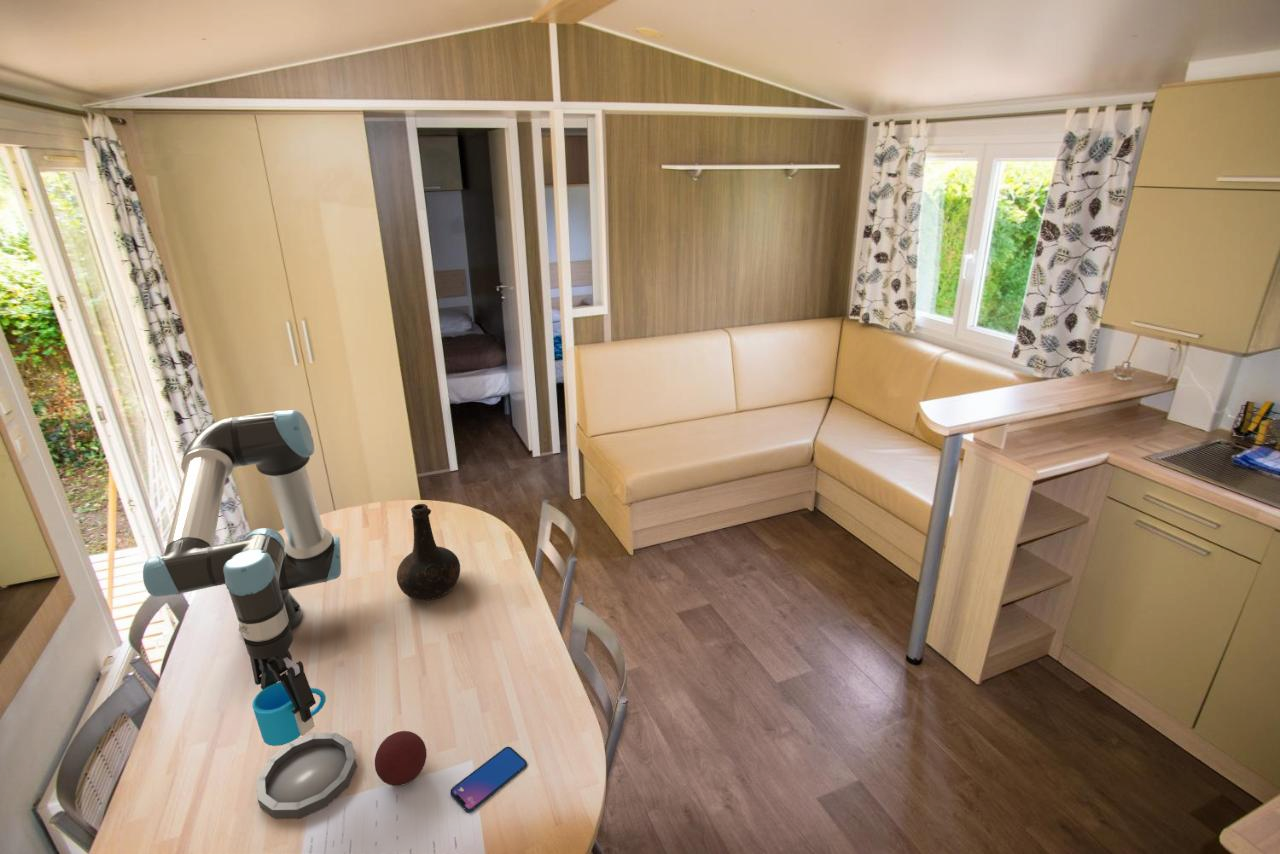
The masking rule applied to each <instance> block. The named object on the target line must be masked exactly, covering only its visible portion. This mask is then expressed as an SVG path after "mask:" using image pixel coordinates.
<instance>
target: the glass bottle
mask: <svg viewBox="0 0 1280 854" xmlns="http://www.w3.org/2000/svg"><path fill="white" fill-rule="evenodd" d="M410 512H411V518H412V524H413V525H412V526H413V547H412V552H410V553H409V554H407V555H406V556H405V557H404V558H403V559H402V561H401V562H400V563H399V564H398V568H397V571H396V582H397V584H398V587H399V588H400V590H401V592H403V594H405V595H406V596H407V597H408V598H411V599H414V600H416V601H433V600H436V599H438V598H440V597H442V596H444V595H446V594H447V593H448V592H450V591H451V590H452V589H453V588H454V586H455V585H456V584H457V581H458V579H459V577H460V574H461V564H460V560H459V558H458V556H457V555H456V554H455V553H454V552H453V551H452V550H450V549H448V548H446V547H444V546H438V545H437V543H436V541H435V538H434V533H433V531H432V527H431V521H430V520H431V519H430V515H431V512H432V509H430V508H429V507H428V505H427V504H425V503H418V504H415V505H414V506H413V507H412V508H411V509H410Z"/></svg>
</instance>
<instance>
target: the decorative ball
mask: <svg viewBox="0 0 1280 854" xmlns="http://www.w3.org/2000/svg"><path fill="white" fill-rule="evenodd" d="M374 757H375V758H374V768H375V772H376V774H377V776H378V778H379V779H380V781H382V782H383V783H386V784H387V785H390V786H393V787H398V786H399V787H400V786H404V785H407V784H409V783H411V782H412V781H414V780H415V779H416V778H417V777H418V776H419V775H420V774H421V772H422V771H423V769H424V767H425V765H426V761H427V757H428V756H427V747H426V744H425V741H424V740H423V738H422V737H421V736H420V735H419V734H417V733H415V732H414V731H413V732H412V731H409V730H400V731H396V732H393V733H392V734H389V736H386V738H385V739H384V740H382V742H381V743H380V744H379V746H378V748H377V750H376V753H375V756H374Z"/></svg>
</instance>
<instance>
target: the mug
mask: <svg viewBox="0 0 1280 854" xmlns="http://www.w3.org/2000/svg"><path fill="white" fill-rule="evenodd" d="M310 688H311V691H312V694H315V695H318V696H319V698H320V699H319V700H320V701H319V703H318V704H317V706H316V707H315V708H314V709H313V710H311V714H312V717H314V716H315V715H316V714H318V713H319V712H320V711H321V710H322V708H323V707H324V705H325V703H326V701H327V700H326V699H327V697H326V694H325V692H324V691H323V690H322V689H320V688H316V687H315V688H314V687H310ZM294 708H295V707H294V705H293V703H292V701H291V700H290V698H289V696H288V694H287V692H286V690H285V688H284V686H283V685H282V683H281V681H278V682H277V683H274V684H272V685H270V686H268V687H266V688H265V689H263V690H262V689H261V691H259V693H257V695H255V697H254V699H253V701H252V709H253V713H254V715H255V719H256V723H257V726H258V728H259V731H260V735H261V738H262V739H263V743H265V744H266V745H268V746H272V747H278V746H284V745H288V744H289V743H291V742H293V741H296V740H298V738H299V737H300V736H301V735H300V733H299V729H298V726H297V722H296V719H295V715H294V714H293V713H292V711H293V709H294Z"/></svg>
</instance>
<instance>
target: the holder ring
mask: <svg viewBox="0 0 1280 854" xmlns="http://www.w3.org/2000/svg"><path fill="white" fill-rule="evenodd" d="M356 759H357V758H356V755H355V750H354V747H353V741H351V740H350V739H348V738H346V737H345V736H343V735H342V734H340V733H338V732H315V733H314V732H313V733H311V734H309V735H306V736H304V737H303V736H302V737H301V738H299V739H298V738H297V739H295V740H293V741H292V742H290V743H287V744H286V745H285V746H284V747H283V748H282V749H280V750H279V751H278V752H276V753H274V755H273V756H271V757H270V758H269V759H268V760H267V762H266V764H265V765H264V766H263V769H262V771H260V773H259V775H258V776H257V778H256V780H255V781H256V782H255V783H256V799H257V802H258V806H259V808H260V809H261V810H263V811H264V812H265V813H267V814H268V815H270V816H271V817H272V818H273V819H274V820H285V819H288V820H289V819H293V820H294V819H302V818H304V817H307V816H308V815H311V814H314V813H316V812H317V811H320V810H322V809H324V808H327V807H328V806H329V805H330V804H332V803H333V802H334V801H335V800H337V798H338V797H339V796H340V795H341V794H343V792H345V791H346V790H347V789H348V788H349V786H350V784H351V781H352V779H353V777H354V775H355V772H356V770H357V768H358V765H357V764H358V763H357V760H356Z"/></svg>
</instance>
